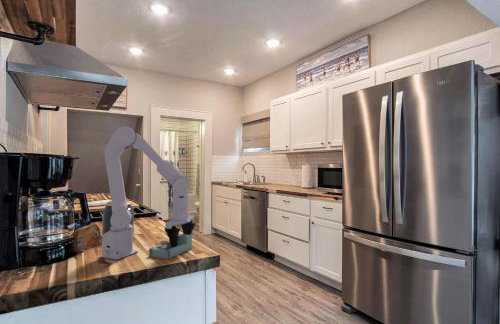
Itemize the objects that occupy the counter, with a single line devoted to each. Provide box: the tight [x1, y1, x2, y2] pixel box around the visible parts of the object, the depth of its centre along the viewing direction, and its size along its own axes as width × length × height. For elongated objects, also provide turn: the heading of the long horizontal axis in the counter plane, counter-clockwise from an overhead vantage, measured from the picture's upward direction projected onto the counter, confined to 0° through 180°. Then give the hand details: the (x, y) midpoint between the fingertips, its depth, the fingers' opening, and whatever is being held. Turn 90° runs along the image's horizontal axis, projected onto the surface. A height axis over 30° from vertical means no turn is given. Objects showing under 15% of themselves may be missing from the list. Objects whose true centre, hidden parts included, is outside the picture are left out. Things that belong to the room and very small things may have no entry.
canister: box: [101, 199, 135, 236], centre depth 128 cm, size 13×13×18 cm
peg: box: [159, 240, 169, 250], centre depth 99 cm, size 2×2×5 cm
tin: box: [71, 224, 101, 253], centre depth 107 cm, size 15×3×8 cm, turn 179°
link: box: [148, 233, 193, 259], centre depth 102 cm, size 13×8×5 cm, turn 156°
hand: (180, 244), depth 107 cm, fingers open, 7 cm apart
